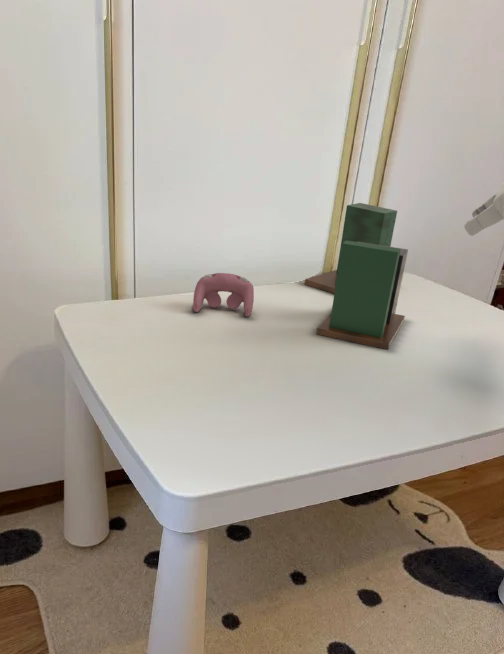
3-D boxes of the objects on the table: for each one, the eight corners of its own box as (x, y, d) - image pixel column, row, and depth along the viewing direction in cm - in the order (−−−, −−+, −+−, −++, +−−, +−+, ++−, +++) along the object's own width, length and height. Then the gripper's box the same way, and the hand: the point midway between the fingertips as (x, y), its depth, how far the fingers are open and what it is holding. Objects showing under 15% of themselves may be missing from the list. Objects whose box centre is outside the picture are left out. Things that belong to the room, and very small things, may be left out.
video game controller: (252, 319, 106) (256, 277, 106) (251, 316, 101) (256, 272, 101) (193, 314, 107) (197, 272, 106) (190, 310, 102) (195, 267, 102)
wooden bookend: (403, 321, 104) (419, 249, 99) (387, 349, 94) (404, 270, 88) (338, 308, 108) (349, 238, 103) (316, 334, 97) (327, 257, 92)
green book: (383, 333, 96) (400, 248, 90) (380, 338, 95) (398, 252, 89) (332, 322, 99) (345, 240, 93) (329, 327, 98) (342, 243, 91)
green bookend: (393, 286, 121) (407, 211, 115) (353, 300, 113) (367, 220, 106) (345, 271, 128) (356, 200, 121) (304, 284, 119) (314, 208, 113)
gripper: (561, 127, 84) (466, 193, 93) (564, 138, 68) (448, 217, 76) (587, 167, 85) (490, 229, 93) (596, 186, 68) (477, 260, 77)
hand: (471, 223), depth 84 cm, fingers open, 8 cm apart
